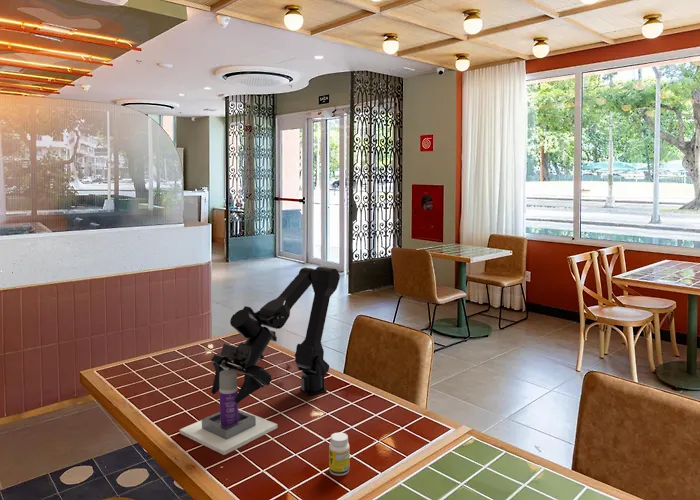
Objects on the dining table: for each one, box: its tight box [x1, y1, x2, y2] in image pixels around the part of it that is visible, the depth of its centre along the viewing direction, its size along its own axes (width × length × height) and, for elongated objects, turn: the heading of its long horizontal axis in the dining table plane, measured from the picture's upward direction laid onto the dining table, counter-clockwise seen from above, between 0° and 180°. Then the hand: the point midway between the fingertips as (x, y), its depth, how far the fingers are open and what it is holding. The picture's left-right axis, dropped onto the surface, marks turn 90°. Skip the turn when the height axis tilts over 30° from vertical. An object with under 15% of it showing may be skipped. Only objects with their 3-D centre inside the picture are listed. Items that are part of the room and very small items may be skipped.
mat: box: [179, 408, 278, 456], centre depth 142 cm, size 18×18×1 cm
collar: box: [201, 409, 256, 440], centre depth 142 cm, size 10×10×2 cm
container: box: [218, 370, 239, 427], centre depth 141 cm, size 5×5×15 cm
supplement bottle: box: [328, 432, 351, 477], centre depth 123 cm, size 5×5×8 cm
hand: (223, 397), depth 140 cm, fingers open, 9 cm apart
